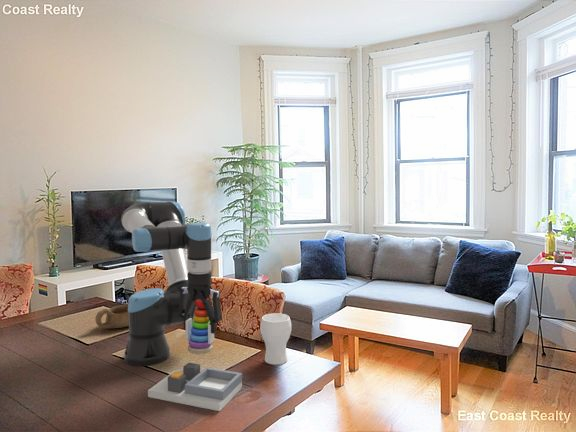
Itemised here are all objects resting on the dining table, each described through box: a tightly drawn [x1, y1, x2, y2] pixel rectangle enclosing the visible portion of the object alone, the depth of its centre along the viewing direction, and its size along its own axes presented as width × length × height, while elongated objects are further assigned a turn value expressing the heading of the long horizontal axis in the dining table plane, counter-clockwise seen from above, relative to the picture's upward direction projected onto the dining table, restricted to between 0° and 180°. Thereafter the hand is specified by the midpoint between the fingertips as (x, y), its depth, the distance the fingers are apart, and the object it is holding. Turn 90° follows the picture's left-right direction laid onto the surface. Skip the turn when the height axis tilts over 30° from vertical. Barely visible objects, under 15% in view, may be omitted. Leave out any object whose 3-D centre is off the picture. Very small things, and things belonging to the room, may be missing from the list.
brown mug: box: [94, 303, 129, 329], centre depth 183 cm, size 18×14×10 cm
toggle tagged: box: [168, 371, 186, 393], centre depth 125 cm, size 4×3×5 cm
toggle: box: [182, 362, 201, 381], centre depth 132 cm, size 4×3×4 cm
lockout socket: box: [185, 366, 243, 400], centre depth 127 cm, size 12×12×2 cm
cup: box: [259, 312, 292, 365], centre depth 150 cm, size 11×11×15 cm
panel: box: [147, 369, 243, 412], centre depth 128 cm, size 23×14×2 cm, turn 71°
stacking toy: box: [187, 297, 214, 356], centre depth 141 cm, size 8×8×19 cm
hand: (200, 340), depth 141 cm, fingers closed on stacking toy, 7 cm apart
